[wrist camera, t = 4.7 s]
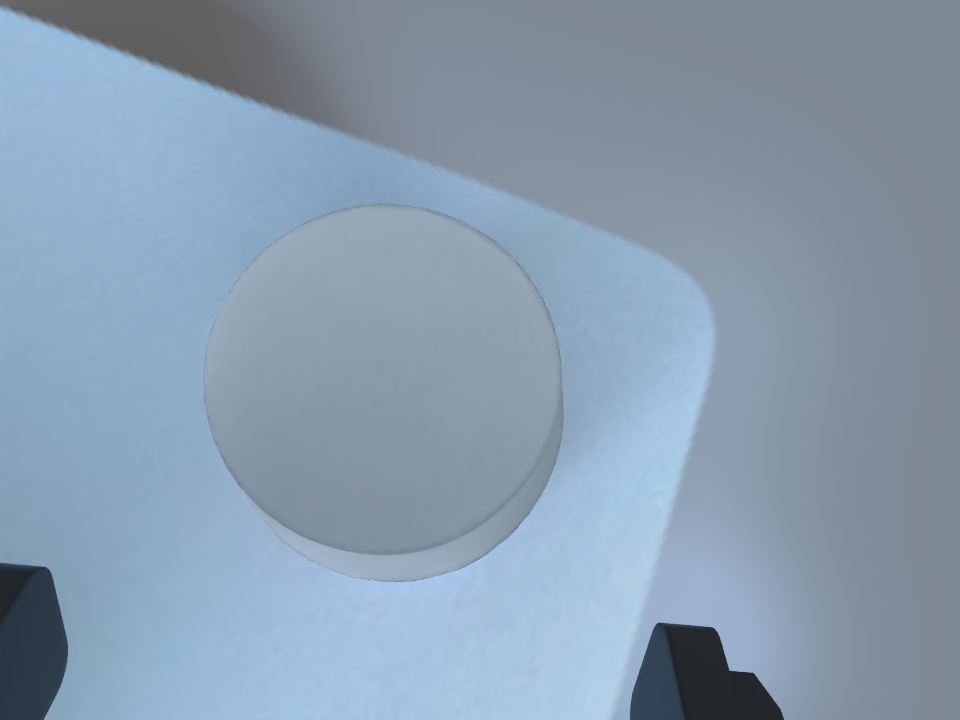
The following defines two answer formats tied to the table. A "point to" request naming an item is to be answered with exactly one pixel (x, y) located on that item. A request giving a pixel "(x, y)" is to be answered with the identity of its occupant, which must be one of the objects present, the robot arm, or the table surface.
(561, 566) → the table surface
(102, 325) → the table surface
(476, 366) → the pill bottle
